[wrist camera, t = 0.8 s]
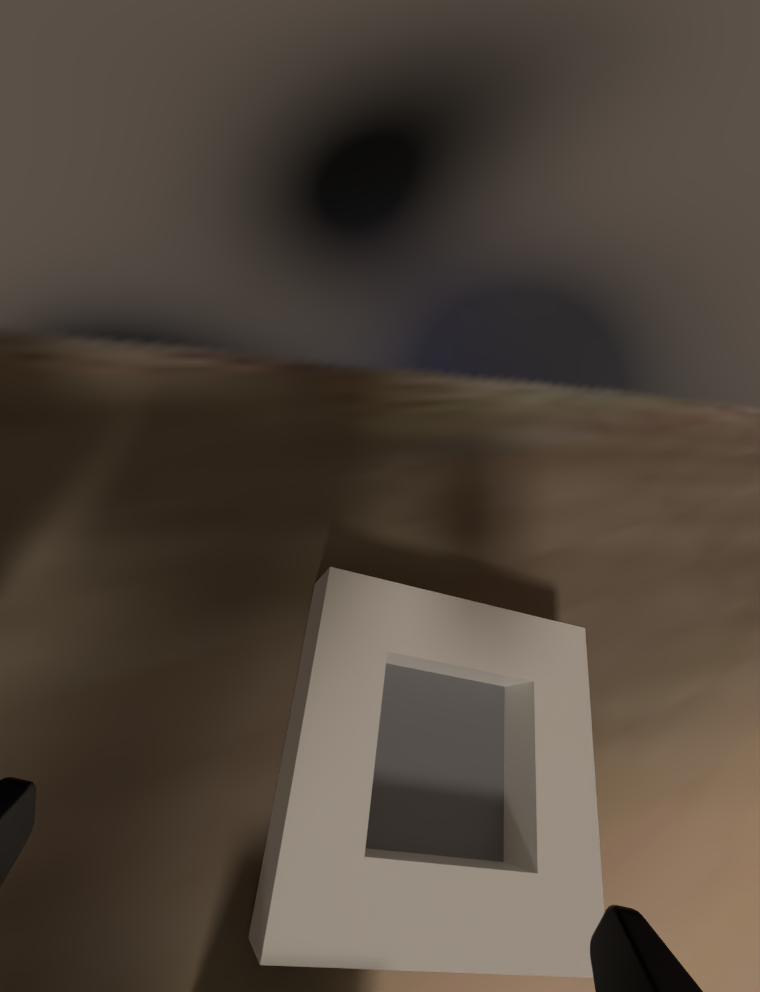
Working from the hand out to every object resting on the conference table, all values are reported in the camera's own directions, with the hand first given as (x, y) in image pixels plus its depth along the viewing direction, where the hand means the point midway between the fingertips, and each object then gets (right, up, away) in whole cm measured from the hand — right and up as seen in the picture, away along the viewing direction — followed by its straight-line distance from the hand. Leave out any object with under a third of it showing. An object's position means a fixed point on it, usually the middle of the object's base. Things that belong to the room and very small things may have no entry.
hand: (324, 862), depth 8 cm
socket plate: (+3, -5, +13) cm, 14 cm away
